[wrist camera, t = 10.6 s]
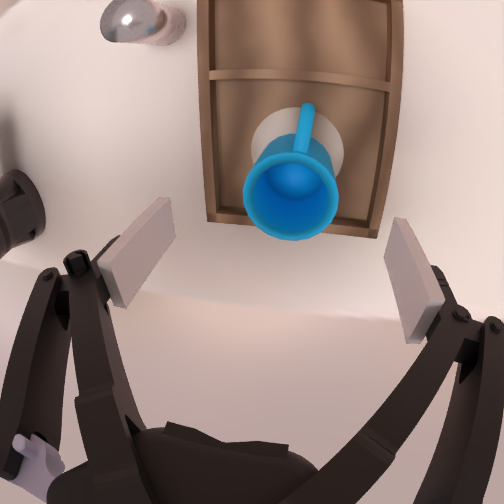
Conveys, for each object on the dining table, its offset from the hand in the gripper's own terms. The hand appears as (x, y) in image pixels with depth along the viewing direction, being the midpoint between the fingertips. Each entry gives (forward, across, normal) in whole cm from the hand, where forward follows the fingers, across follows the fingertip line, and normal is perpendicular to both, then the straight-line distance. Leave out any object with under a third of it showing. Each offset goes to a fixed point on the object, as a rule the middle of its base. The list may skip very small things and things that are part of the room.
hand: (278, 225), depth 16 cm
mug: (+16, +1, 0) cm, 17 cm away
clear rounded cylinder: (+18, -15, +16) cm, 28 cm away
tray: (+18, 0, +6) cm, 18 cm away
